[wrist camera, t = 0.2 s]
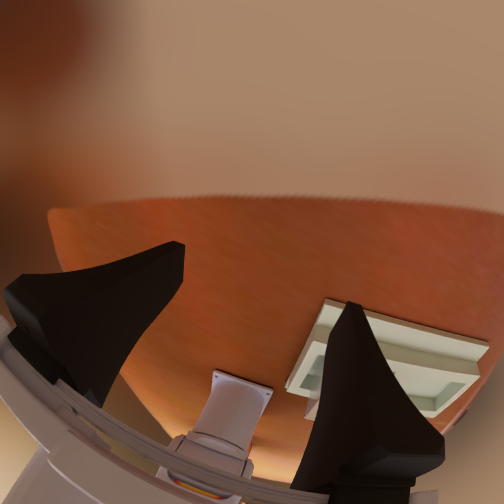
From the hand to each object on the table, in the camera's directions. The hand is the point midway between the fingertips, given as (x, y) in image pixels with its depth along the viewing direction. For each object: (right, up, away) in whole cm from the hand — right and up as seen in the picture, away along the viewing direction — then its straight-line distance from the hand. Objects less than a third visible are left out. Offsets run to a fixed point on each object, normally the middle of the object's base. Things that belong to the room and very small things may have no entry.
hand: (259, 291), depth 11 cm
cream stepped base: (+14, -11, +13) cm, 22 cm away
